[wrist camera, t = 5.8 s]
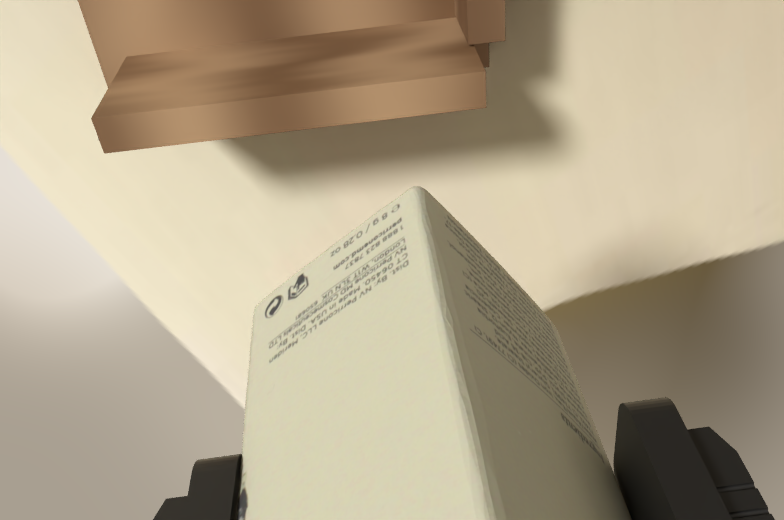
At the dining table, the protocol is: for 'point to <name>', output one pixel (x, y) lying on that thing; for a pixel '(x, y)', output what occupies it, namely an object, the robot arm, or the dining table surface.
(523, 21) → the dining table surface
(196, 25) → the rack
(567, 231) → the dining table surface
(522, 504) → the box
